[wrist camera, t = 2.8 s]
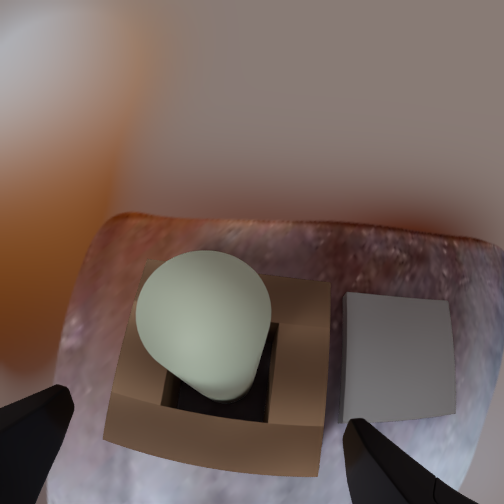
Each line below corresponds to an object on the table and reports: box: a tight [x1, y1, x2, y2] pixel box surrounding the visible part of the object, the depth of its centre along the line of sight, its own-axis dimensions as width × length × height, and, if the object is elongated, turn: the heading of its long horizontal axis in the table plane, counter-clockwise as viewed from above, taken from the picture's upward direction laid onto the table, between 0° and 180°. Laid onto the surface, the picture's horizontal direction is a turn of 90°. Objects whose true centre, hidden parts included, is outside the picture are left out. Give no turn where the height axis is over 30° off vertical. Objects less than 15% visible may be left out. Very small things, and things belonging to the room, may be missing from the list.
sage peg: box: [136, 250, 271, 404], centre depth 13 cm, size 4×4×12 cm
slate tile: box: [338, 292, 456, 423], centre depth 18 cm, size 9×9×1 cm
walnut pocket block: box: [103, 259, 331, 477], centre depth 16 cm, size 11×11×4 cm
